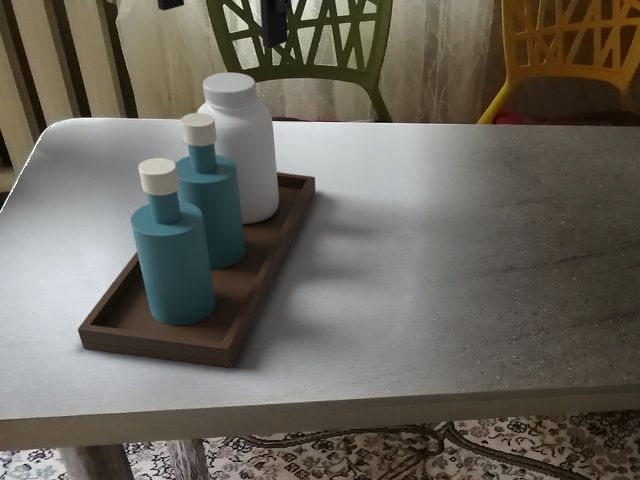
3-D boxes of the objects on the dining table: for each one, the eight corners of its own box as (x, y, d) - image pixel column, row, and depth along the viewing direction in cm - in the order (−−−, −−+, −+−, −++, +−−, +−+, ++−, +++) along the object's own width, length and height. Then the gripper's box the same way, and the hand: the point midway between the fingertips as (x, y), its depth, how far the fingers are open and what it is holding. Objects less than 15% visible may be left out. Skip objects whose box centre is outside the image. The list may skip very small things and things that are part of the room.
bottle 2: (235, 272, 77) (218, 137, 68) (178, 264, 77) (153, 128, 68) (252, 241, 82) (239, 110, 72) (198, 234, 82) (178, 102, 72)
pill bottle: (195, 202, 87) (175, 75, 77) (256, 184, 91) (245, 61, 81) (230, 233, 83) (214, 103, 73) (292, 213, 87) (285, 87, 77)
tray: (231, 368, 68) (228, 349, 66) (83, 348, 68) (77, 329, 66) (315, 193, 93) (315, 176, 91) (207, 179, 93) (204, 162, 91)
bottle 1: (203, 329, 70) (179, 187, 60) (140, 321, 70) (106, 178, 60) (224, 292, 75) (205, 154, 65) (164, 284, 75) (136, 145, 65)
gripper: (349, -223, 59) (347, 50, 72) (122, -269, 66) (159, -15, 80) (285, -223, 53) (296, 71, 67) (48, -273, 61) (101, 0, 75)
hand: (222, 25), depth 74 cm, fingers open, 13 cm apart
